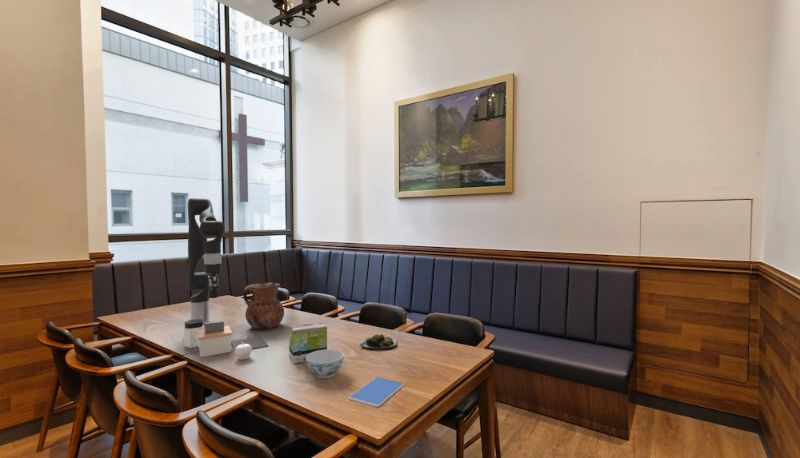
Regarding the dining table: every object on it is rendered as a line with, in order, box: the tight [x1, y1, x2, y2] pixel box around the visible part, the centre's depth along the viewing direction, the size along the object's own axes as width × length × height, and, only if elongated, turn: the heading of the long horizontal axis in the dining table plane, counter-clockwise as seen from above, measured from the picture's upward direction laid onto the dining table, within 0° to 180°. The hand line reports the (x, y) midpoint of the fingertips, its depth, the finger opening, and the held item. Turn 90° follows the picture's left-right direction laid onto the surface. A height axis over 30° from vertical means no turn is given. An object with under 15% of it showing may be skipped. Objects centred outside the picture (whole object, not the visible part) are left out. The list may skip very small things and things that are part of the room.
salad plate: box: [359, 333, 397, 351], centre depth 186 cm, size 19×18×5 cm
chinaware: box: [305, 348, 345, 379], centre depth 149 cm, size 15×15×8 cm
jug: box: [242, 282, 285, 330], centre depth 217 cm, size 22×21×25 cm
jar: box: [183, 319, 204, 349], centre depth 186 cm, size 9×8×12 cm
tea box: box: [288, 321, 328, 365], centre depth 167 cm, size 15×10×15 cm
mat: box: [231, 336, 269, 351], centre depth 186 cm, size 17×15×1 cm
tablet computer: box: [348, 376, 405, 408], centre depth 134 cm, size 19×13×1 cm, turn 152°
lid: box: [197, 319, 233, 340], centre depth 178 cm, size 14×14×7 cm
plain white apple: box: [234, 341, 253, 361], centre depth 167 cm, size 7×7×8 cm
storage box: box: [198, 335, 232, 358], centre depth 178 cm, size 13×13×8 cm
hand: (213, 296), depth 177 cm, fingers open, 8 cm apart
